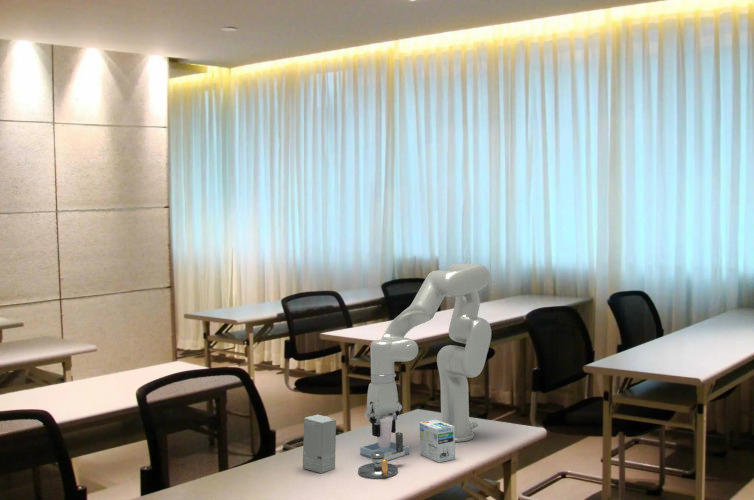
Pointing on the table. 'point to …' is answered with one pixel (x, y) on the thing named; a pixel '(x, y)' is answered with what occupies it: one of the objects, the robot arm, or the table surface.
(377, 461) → the crank
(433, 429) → the light bulb box
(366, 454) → the tray
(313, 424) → the skincare box
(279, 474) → the table surface
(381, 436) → the smoothie
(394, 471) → the crank base
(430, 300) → the robot arm
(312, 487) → the table surface
